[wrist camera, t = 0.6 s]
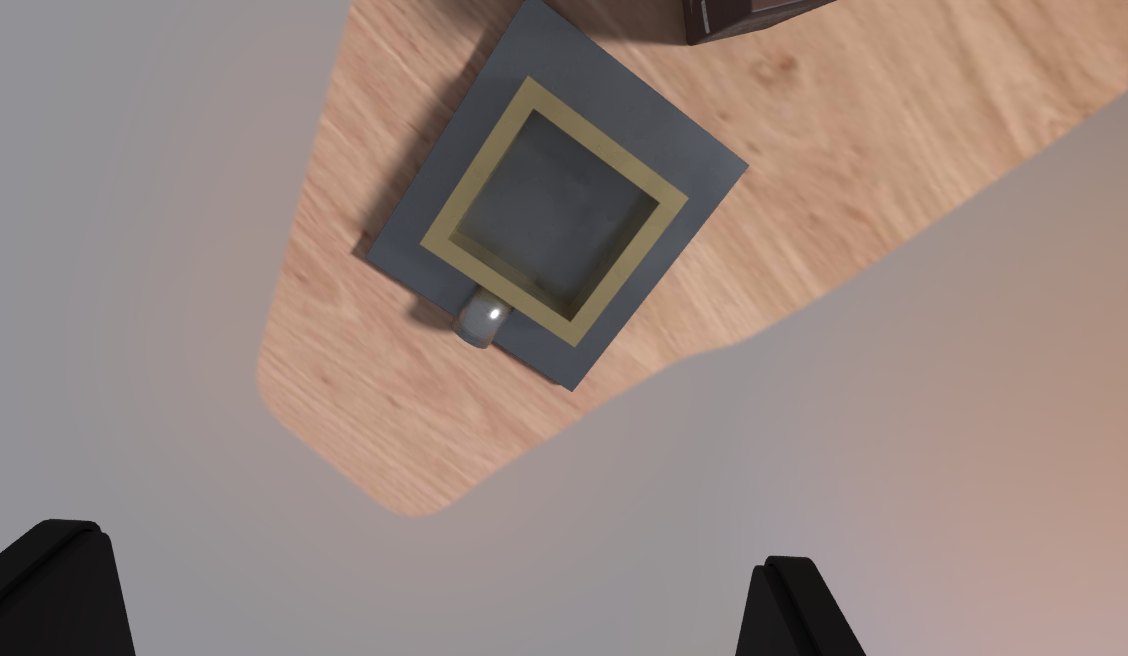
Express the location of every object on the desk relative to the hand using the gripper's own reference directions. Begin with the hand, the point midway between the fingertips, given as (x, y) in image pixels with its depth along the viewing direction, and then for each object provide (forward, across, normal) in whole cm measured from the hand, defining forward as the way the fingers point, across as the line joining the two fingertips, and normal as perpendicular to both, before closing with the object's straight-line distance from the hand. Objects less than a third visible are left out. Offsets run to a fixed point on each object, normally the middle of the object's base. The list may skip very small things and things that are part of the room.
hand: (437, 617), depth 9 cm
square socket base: (+27, -1, -2) cm, 27 cm away
